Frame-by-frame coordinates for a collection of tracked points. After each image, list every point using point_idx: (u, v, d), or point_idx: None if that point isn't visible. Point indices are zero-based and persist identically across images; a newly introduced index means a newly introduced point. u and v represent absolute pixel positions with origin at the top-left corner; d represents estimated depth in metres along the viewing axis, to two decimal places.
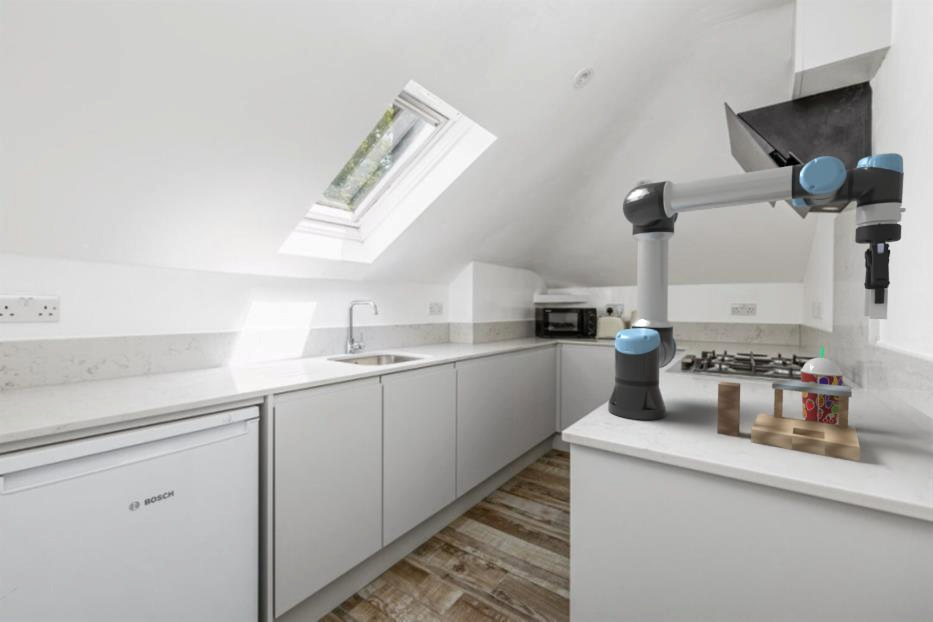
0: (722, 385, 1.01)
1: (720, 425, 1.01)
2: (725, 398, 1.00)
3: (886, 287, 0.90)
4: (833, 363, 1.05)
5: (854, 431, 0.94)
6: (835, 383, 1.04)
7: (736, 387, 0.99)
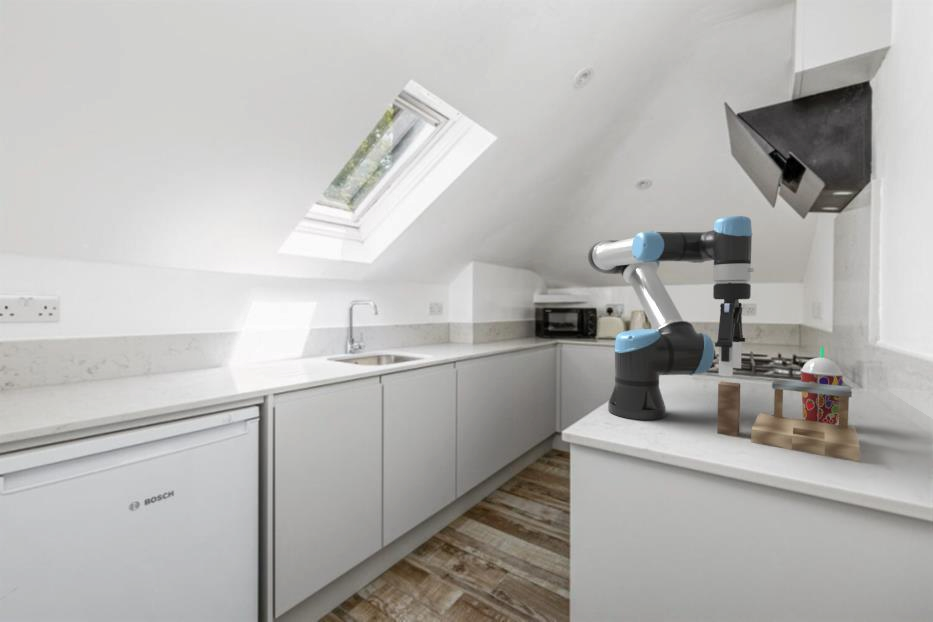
0: (722, 385, 1.01)
1: (720, 425, 1.01)
2: (725, 398, 1.00)
3: (730, 346, 0.94)
4: (833, 363, 1.05)
5: (854, 431, 0.94)
6: (835, 383, 1.04)
7: (736, 387, 0.99)
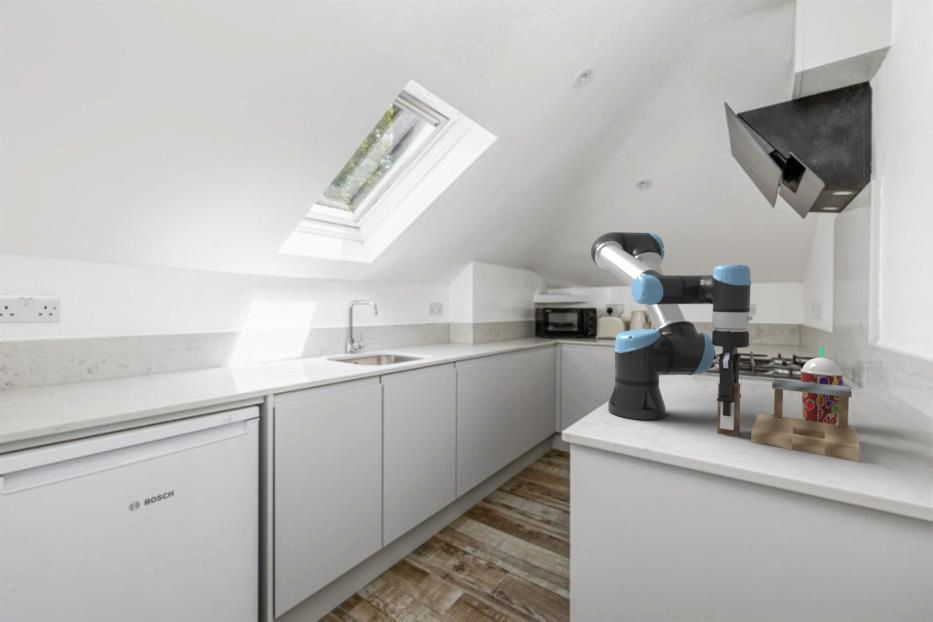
0: None
1: None
2: None
3: (731, 402, 0.98)
4: (833, 363, 1.05)
5: (854, 431, 0.94)
6: (835, 383, 1.04)
7: (736, 387, 0.99)
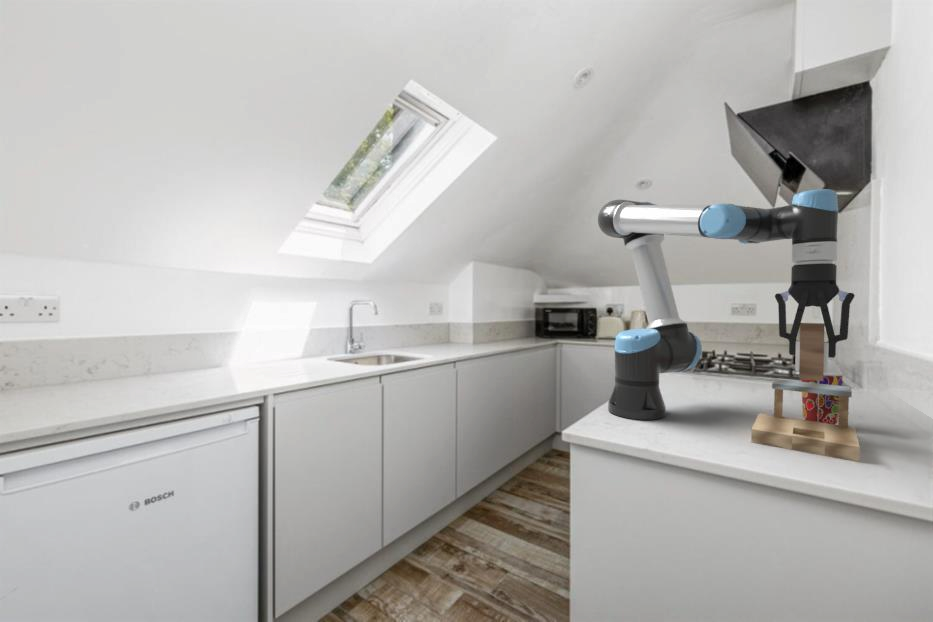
0: None
1: None
2: None
3: (791, 340, 0.93)
4: (833, 363, 1.05)
5: (854, 431, 0.94)
6: (835, 383, 1.04)
7: (800, 325, 0.92)
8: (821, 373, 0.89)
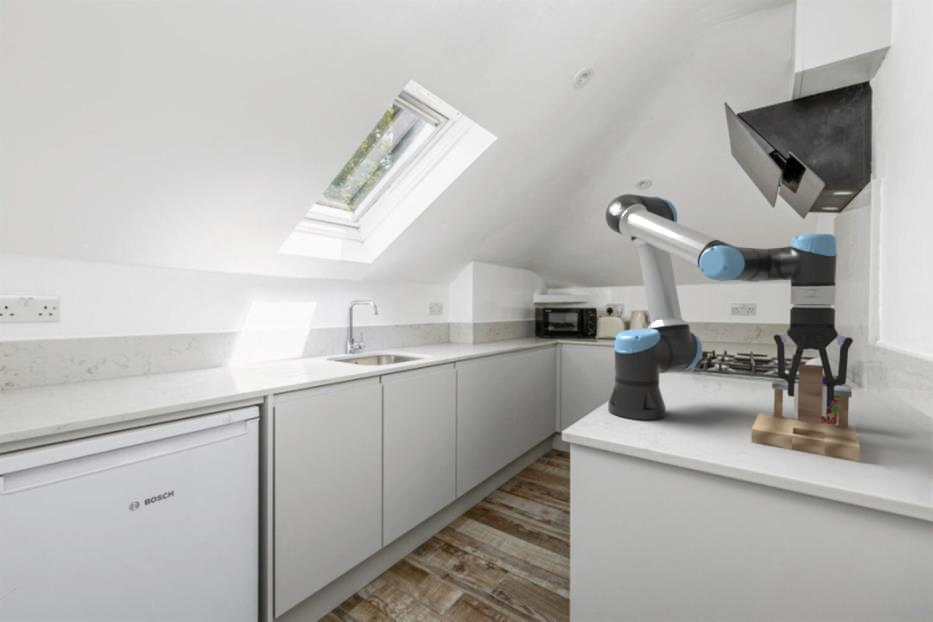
0: None
1: None
2: None
3: (790, 381, 0.94)
4: (833, 363, 1.05)
5: (854, 431, 0.94)
6: None
7: None
8: (819, 416, 0.90)
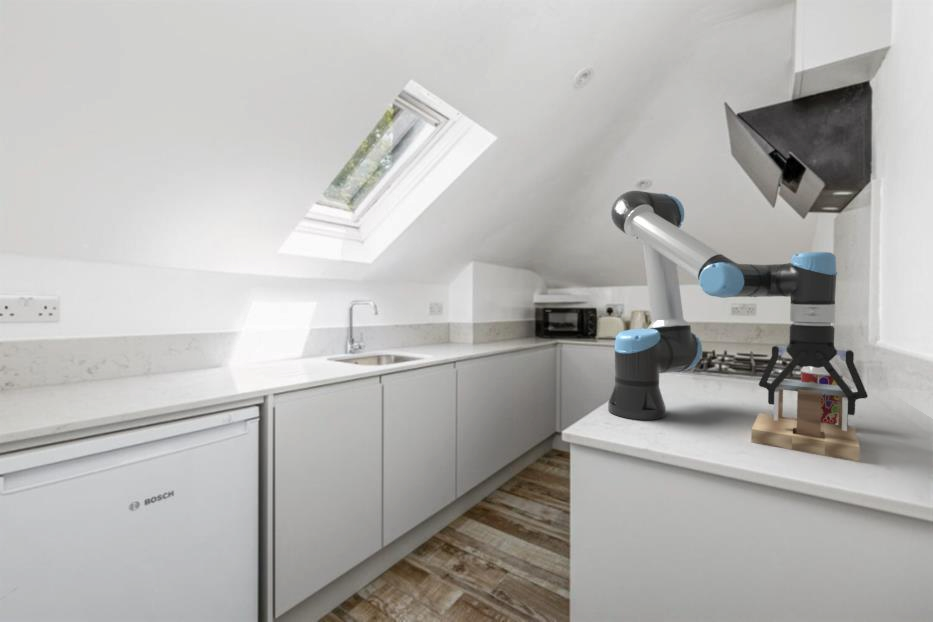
0: (798, 391, 0.94)
1: None
2: None
3: (769, 389, 0.96)
4: (833, 363, 1.05)
5: (854, 431, 0.94)
6: (835, 383, 1.04)
7: None
8: None
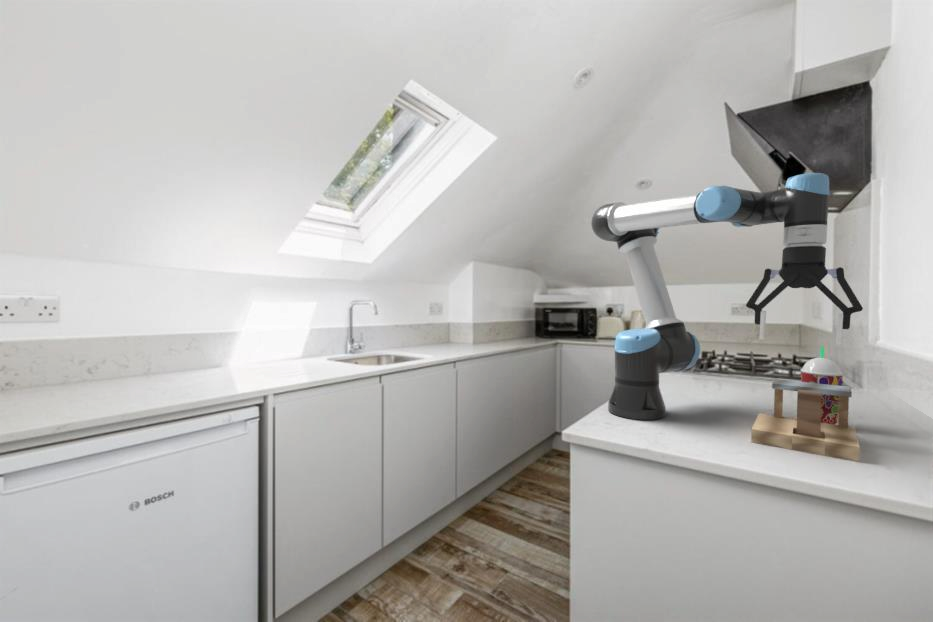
0: (798, 391, 0.94)
1: None
2: None
3: (755, 309, 0.99)
4: (833, 363, 1.05)
5: (854, 431, 0.94)
6: (835, 383, 1.04)
7: None
8: None
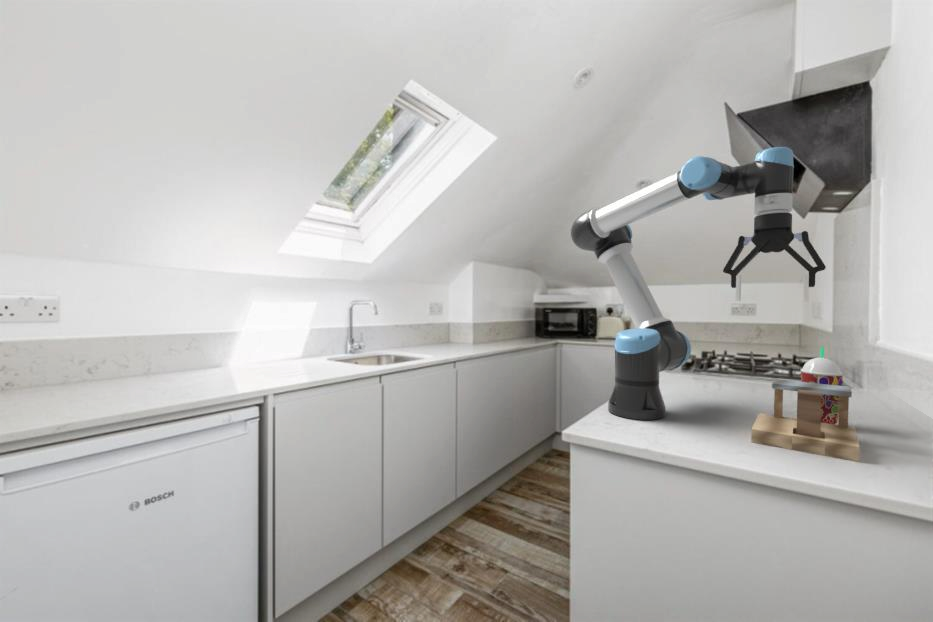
0: (798, 391, 0.94)
1: None
2: None
3: (731, 274, 1.08)
4: (833, 363, 1.05)
5: (854, 431, 0.94)
6: (835, 383, 1.04)
7: None
8: None
